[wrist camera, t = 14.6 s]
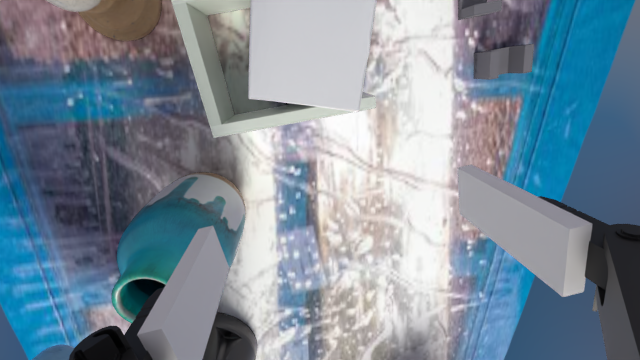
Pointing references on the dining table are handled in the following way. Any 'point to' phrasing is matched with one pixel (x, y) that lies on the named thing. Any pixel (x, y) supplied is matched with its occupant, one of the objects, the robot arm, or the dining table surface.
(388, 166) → the dining table surface
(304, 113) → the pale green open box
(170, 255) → the vase
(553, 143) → the dining table surface
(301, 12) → the supplement box
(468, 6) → the clip
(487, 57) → the clip
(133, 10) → the candle holder
